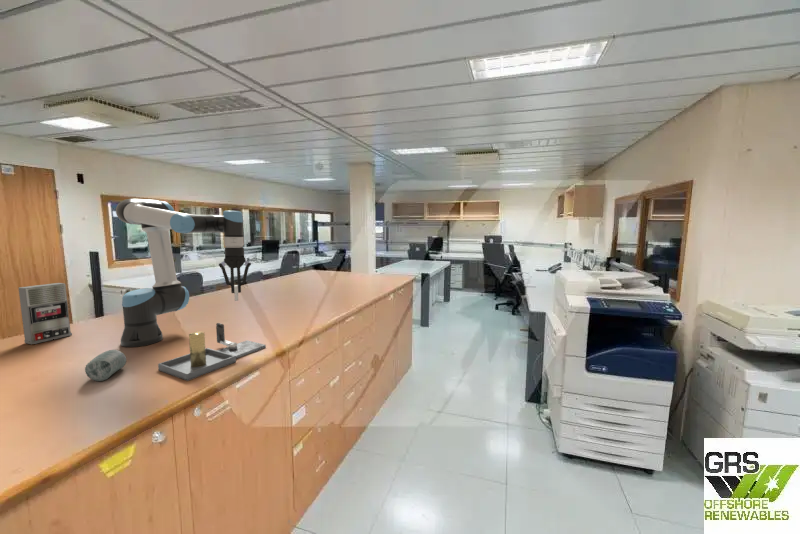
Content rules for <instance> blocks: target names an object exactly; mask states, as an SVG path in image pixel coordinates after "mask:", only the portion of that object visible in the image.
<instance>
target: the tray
mask: <svg viewBox="0 0 800 534" xmlns="http://www.w3.org/2000/svg"><path fill="white" fill-rule="evenodd" d="M205 351H206V364H205V365H204V366H201V367H191V361H190V353H188V354H187V353H186V354H184V355H181V356H179V357H175V358H172V359H168V360H165V361H163V362H159V363H157V366H158V371H159V372H162V373H164V374H167V375H170V376H173V377H175V378H178V379H181V380H183V381H186V382H189V381H191V380H193V379H197V378H199V377H201V375H202V376H204V375H206V373H207V374H209V373H212V372H214V371H216V370H219V369H222V368H224V367H227V366H229V365H232V364H234V363H236V362H237V359H236V356H234V355H231V354H227V353H224V352H220V351H217V350H216V349H213V348H209V347H207V348H206V347H205ZM203 374H204V375H203Z"/></svg>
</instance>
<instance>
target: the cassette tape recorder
mask: <svg viewBox="0 0 800 534" xmlns="http://www.w3.org/2000/svg"><path fill="white" fill-rule="evenodd" d="M66 285H67V284H66V283H64V282H54V283H47V284H37V285H29V286H20V287H18V296H19V303H20V311H21V320H22V321H21V322H22V327H23V336H24V340H23V341H24V344H29V345H32V344H35V345H37V344H39V343H40V344H41V343H44V342H49V341H54V340H57V339H63V338H66V337H71V336H73V333H72V332H71V325H70V324H71V323H70V314H69V306H68V296H67V295H68V293H67V288H66V287H67V286H66ZM70 335H71V336H70ZM53 339H54V340H53Z"/></svg>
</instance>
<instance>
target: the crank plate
mask: <svg viewBox="0 0 800 534" xmlns="http://www.w3.org/2000/svg"><path fill="white" fill-rule="evenodd" d="M236 343H237V342H236ZM266 346H267V345H266V344H264V343H259V342H255V341H251V340H248V339H246V340H244V341H240V342H238V343H237V349H233V350H230V349H229V346H226V347H223V348H219V349H218V350H217V351H220V352H224V353H227V354H231V355H234V356H236V360H237V359H238V358H242V357H244V356H248V355H250V354H252V353H255V352H257V351H260V350H262V349H265V348H267V347H266Z"/></svg>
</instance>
